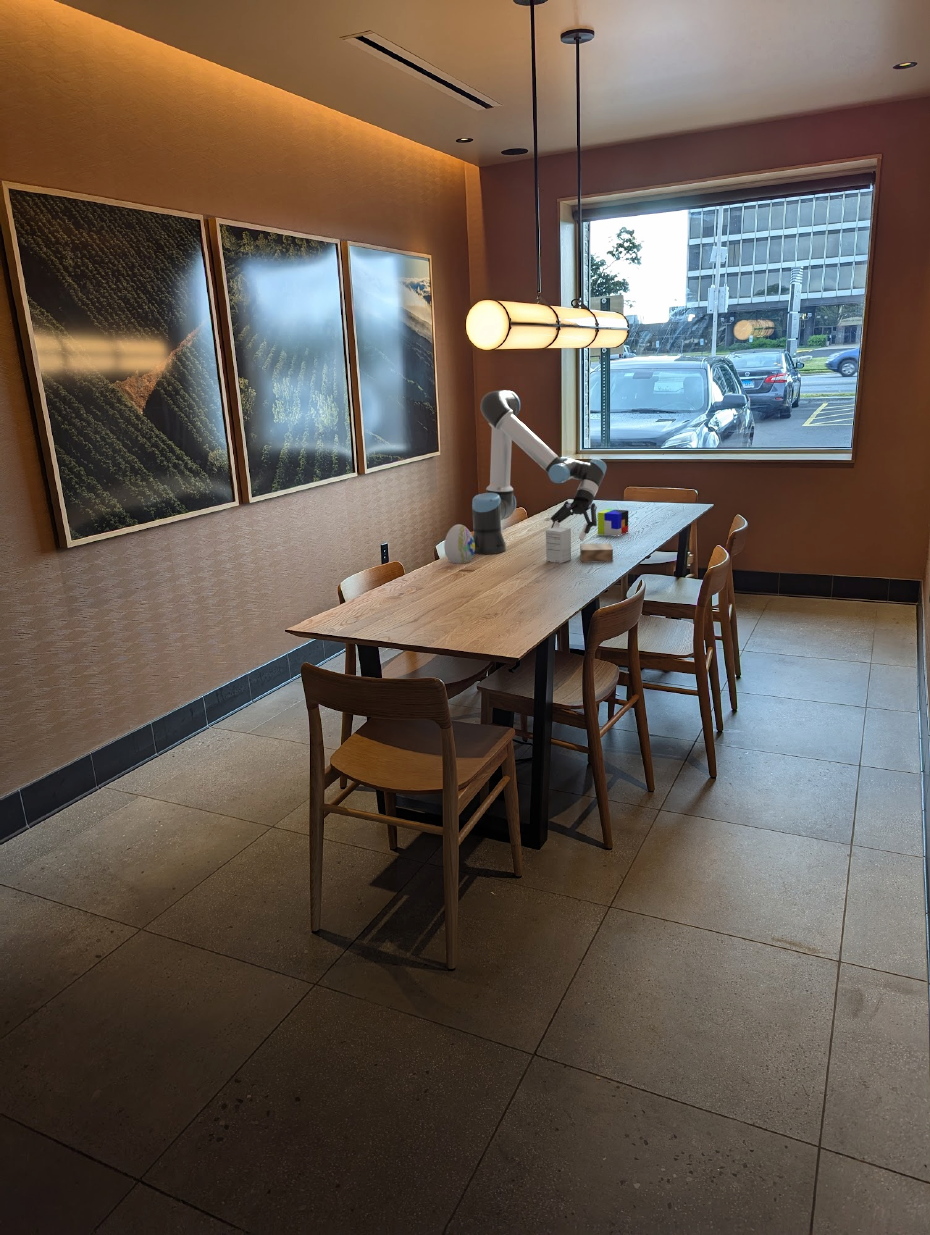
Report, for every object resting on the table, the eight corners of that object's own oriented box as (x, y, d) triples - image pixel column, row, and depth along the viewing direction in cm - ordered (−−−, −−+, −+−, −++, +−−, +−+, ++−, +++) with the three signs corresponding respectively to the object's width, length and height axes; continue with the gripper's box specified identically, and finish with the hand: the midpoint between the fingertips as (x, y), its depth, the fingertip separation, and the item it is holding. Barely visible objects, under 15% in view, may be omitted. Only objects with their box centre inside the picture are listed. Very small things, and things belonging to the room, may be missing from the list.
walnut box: (581, 562, 327) (581, 550, 325) (580, 555, 338) (580, 543, 337) (612, 562, 326) (612, 549, 324) (610, 555, 337) (610, 543, 336)
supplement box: (555, 557, 336) (555, 526, 332) (571, 559, 331) (571, 528, 327) (545, 561, 330) (545, 529, 326) (561, 563, 326) (561, 531, 322)
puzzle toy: (617, 536, 369) (618, 514, 367) (597, 534, 375) (597, 512, 372) (628, 532, 377) (628, 510, 374) (608, 530, 383) (608, 509, 380)
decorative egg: (469, 565, 329) (468, 527, 325) (440, 564, 333) (438, 527, 329) (479, 558, 340) (478, 521, 336) (451, 557, 344) (449, 521, 340)
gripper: (616, 501, 331) (597, 546, 325) (563, 497, 346) (543, 540, 340) (609, 490, 326) (589, 535, 319) (555, 486, 341) (535, 529, 334)
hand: (566, 538), depth 329 cm, fingers open, 13 cm apart
